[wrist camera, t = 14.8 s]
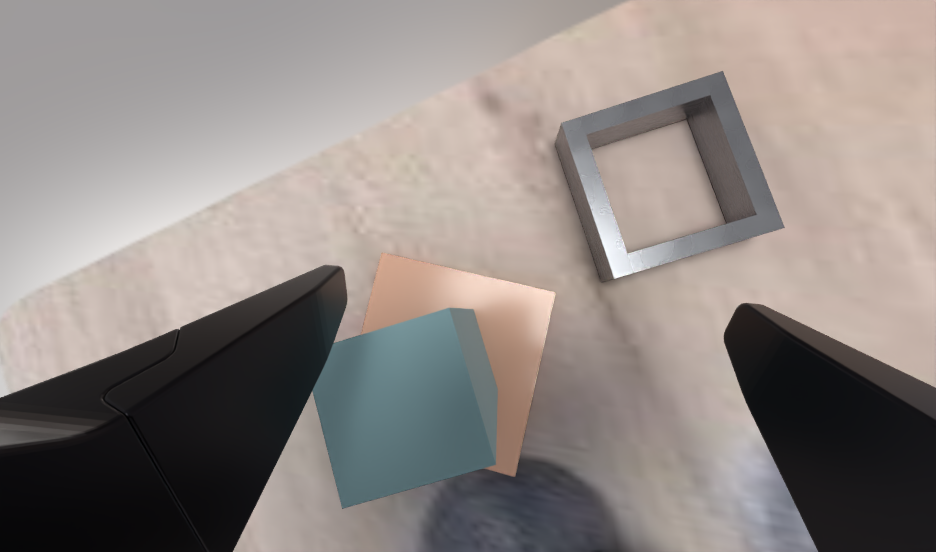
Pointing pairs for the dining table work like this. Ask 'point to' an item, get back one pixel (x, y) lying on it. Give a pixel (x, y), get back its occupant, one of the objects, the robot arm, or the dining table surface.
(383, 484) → the teal peg
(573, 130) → the square socket
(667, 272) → the dining table surface
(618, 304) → the dining table surface
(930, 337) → the dining table surface
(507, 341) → the terracotta tile
